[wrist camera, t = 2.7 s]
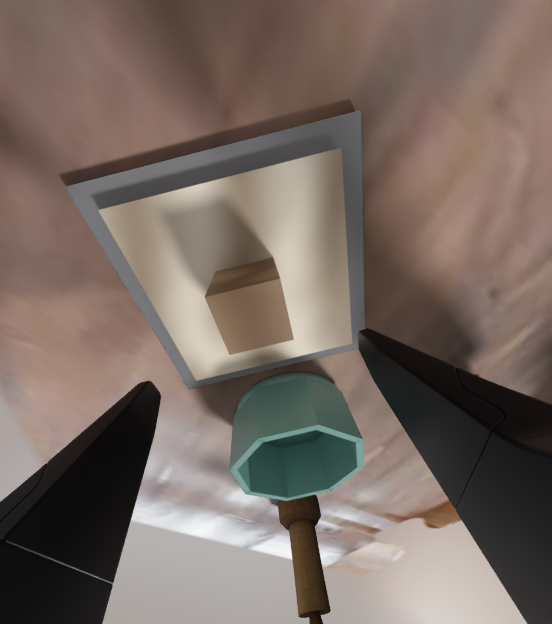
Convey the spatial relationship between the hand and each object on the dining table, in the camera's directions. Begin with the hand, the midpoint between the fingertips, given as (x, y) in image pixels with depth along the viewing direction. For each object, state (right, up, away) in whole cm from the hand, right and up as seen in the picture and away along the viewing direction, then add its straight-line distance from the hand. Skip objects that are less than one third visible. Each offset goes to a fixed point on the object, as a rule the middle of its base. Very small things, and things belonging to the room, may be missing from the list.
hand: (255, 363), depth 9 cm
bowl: (+2, -9, +16) cm, 18 cm away
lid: (-1, +4, +7) cm, 8 cm away
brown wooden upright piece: (+4, -29, +27) cm, 40 cm away
